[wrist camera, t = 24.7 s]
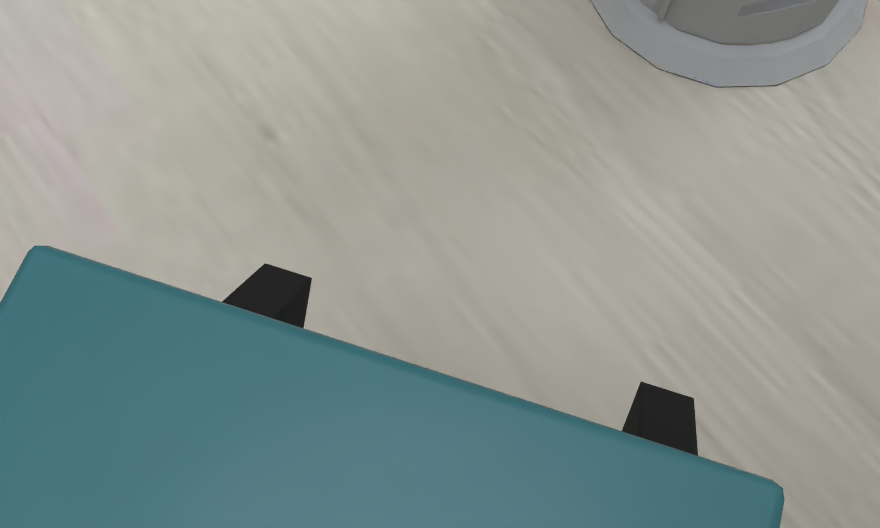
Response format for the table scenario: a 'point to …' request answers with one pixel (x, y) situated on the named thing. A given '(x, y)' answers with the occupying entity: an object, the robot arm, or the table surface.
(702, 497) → the block
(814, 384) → the table surface
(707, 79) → the french press
